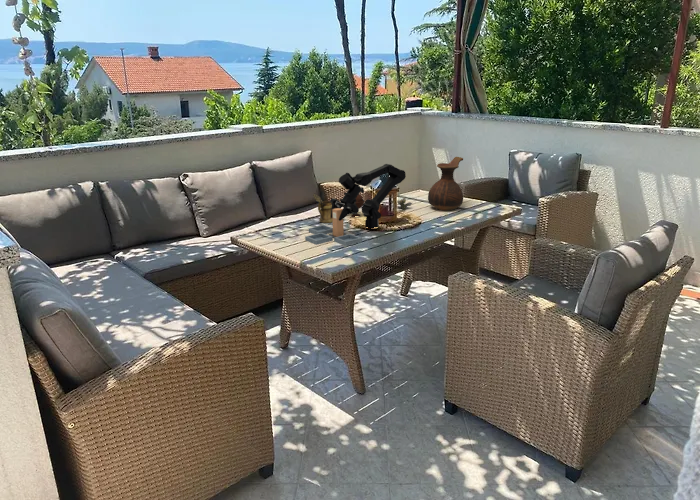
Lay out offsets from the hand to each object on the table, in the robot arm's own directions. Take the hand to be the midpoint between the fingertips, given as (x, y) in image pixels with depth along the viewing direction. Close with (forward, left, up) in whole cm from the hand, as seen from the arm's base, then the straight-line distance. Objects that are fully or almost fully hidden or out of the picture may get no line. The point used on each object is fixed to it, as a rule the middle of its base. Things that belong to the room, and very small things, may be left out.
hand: (335, 219), depth 285 cm
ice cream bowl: (-1, -44, -10) cm, 45 cm away
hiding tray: (+7, +8, -10) cm, 14 cm away
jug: (-52, -69, -10) cm, 86 cm away
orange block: (-1, -1, -9) cm, 9 cm away
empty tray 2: (-8, +8, -10) cm, 15 cm away
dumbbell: (-24, -58, -10) cm, 64 cm away
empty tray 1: (+10, -7, -10) cm, 15 cm away
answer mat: (-1, -1, -10) cm, 10 cm away
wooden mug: (+14, -29, -10) cm, 34 cm away
